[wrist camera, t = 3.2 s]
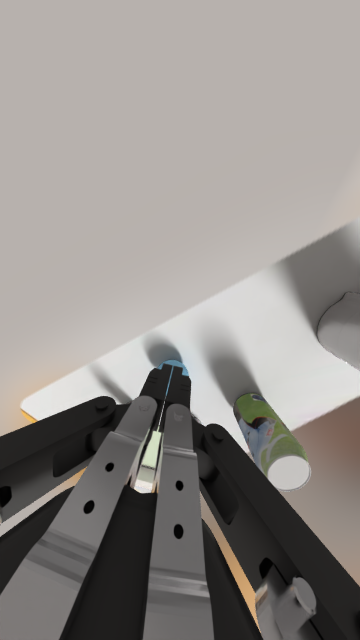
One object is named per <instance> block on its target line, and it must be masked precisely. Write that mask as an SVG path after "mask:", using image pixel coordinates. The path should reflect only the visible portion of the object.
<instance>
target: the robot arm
mask: <svg viewBox="0 0 360 640" xmlns="http://www.w3.org/2000/svg"><path fill="white" fill-rule="evenodd" d="M317 335H318V339H319V342H320V343H321V345H322V346H323V347H324V348H325V349H326V350H327V351H329V352H331V353H332V354H333V355H335V356H336V357H338V358H339V359H341V360H343V361H345V362H346V363H348V364H350V365H351V366H353V367H354V368H356V369H358V370H359V371H360V294H358V293H351V292H347V293H345V295H344V297H343V299H342V300H340V301H339V302H337V303H336V304H334V305H333V306H332V307H330V308H329V309H328V310H327V311H326V312H325V314H324V315H323V316H322V318H321V320H320V322H319V325H318V333H317ZM172 367H173V371H172ZM171 372H172V375H171ZM182 372H183V368H182V367H178V366H173V365H170V364H166V363H163V366H162V369H157V368H154V369H153V370H152V371H150V373H149V375H148V377H147V380H146V382H145V384H144V386H143V388H142V390H141V393H140V395H139V397H137V398H135V399H134V400H133V402H132V403H129V404H121V405H116V402H115V400H114V399H113V398H111V397H108V396H100V397H97V398H94V399H92V400H89V401H87V402H84V403H82V404H79V405H77V406H75V407H72V408H70V409H67V410H65V411H62V412H60V413H57V414H55V415H52V416H50V417H47V418H45V419H42V420H40V421H38V422H35V423H33V424H30V425H28V426H25V427H23V428H20V429H18V430H15V431H13V432H10V433H8V434H6V435H3V436H1V437H0V525H1V523H3V522H4V521H6V520H7V519H9V518H10V517H12V516H13V515H15V514H16V513H18V512H19V511H21V510H22V509H24V508H25V507H27V506H28V505H30V504H31V503H33V502H34V501H36V500H37V499H39V498H40V497H42V496H43V495H45V494H46V493H48V492H49V491H51V490H52V489H54V488H55V487H56V486H58V485H60V484H61V483H63V482H64V481H66V480H67V479H69V478H70V477H72V476H73V475H75V474H76V473H78V472H79V471H80V470H82V469H84V468H85V467H87V468H86V470H85V471H84V473H83V475H82V476H81V478H80V479H79V481H78V482H77V484H76V485H75V486H73V487H71V488H69V489H67V490H65V491H63V492H61V493H60V494H58V495H57V496H55V497H54V498H52V499H51V500H50V501H48V502H47V503H46V504H44V505H43V506H42V507H40V508H39V509H38V510H36V511H35V512H34V513H32V514H31V515H29V516H28V517H27V518H25V519H24V520H23V521H21V522H20V523H18V524H17V525H16V526H14V527H13V528H12V529H10V530H9V531H8V532H6V533H5V534H4V535H2V536H1V537H0V640H360V587H359V585H358V584H357V583H356V582H355V581H354V580H353V578H352V577H351V576H350V575H349V574H348V573H347V571H346V570H345V569H344V568H343V567H342V566H341V564H340V563H339V562H338V561H337V560H336V558H335V557H334V556H333V555H332V554H331V553H330V551H329V550H328V549H327V548H326V547H325V545H323V543H322V542H321V541H320V540H319V538H318V537H317V536H316V535H315V534H314V533H313V531H312V530H311V529H310V528H309V527H308V526H307V524H306V523H305V522H304V521H303V520H302V518H301V517H300V516H299V515H298V514H297V513H296V511H295V510H294V509H293V508H292V507H291V506H290V505H289V503H288V502H287V501H286V500H285V498H284V497H283V496H282V495H281V494H280V493H279V491H278V490H277V489H276V488H275V487H274V486H273V484H272V483H271V482H270V481H269V480H268V478H267V477H266V476H265V475H264V474H263V473H262V471H261V470H260V469H259V468H258V467H257V466H256V464H255V463H254V462H253V461H252V460H251V459H250V458H249V456H248V455H247V454H246V453H245V451H244V450H243V449H242V448H241V447H240V446H239V444H238V443H237V442H236V441H235V440H234V439H233V437H232V436H231V435H230V434H229V433H228V431H227V430H226V429H225V428H223V427H222V426H220V425H218V424H209V425H207V426H206V427H205V426H203V425H202V424H200V423H198V422H197V421H196V420H195V419H194V418H193V417H192V415H191V412H190V396H191V380H190V378H189V376H186V375H182ZM170 376H171V379H170ZM169 380H170V383H169ZM168 385H169V387H168ZM167 389H168V391H167ZM166 393H167V395H166ZM165 397H166V399H165ZM164 401H165V404H164ZM163 405H164V408H163ZM162 409H163V412H162ZM161 413H162V417H161ZM160 417H161V421H160ZM159 421H160V426H159V430H158V432H160V433H161V436H160V441H159V445H158V451H157V458H156V464H155V471H154V478H153V485H152V491H151V493H139V492H137V491H136V490H134V486H135V483H136V480H137V477H138V474H139V471H140V468H141V466H142V463H143V460H144V457H145V454H146V452H147V449H148V446H149V442H150V440H151V438H152V435H153V431H156V432H157V429H158V425H159ZM200 491H201V493H202V495H203V497H204V499H205V501H206V503H207V504H208V506H209V508H210V510H211V512H212V514H213V515H214V517H215V519H216V521H217V523H218V525H219V527H220V528H221V530H222V532H223V534H224V536H225V538H226V540H227V542H228V543H229V545H230V547H231V549H232V551H233V553H234V554H235V556H236V558H237V560H238V562H239V564H240V565H241V567H242V569H243V571H244V573H245V574H246V577H247V578H248V580H249V582H250V584H251V586H252V588H253V589H254V591H255V593H256V596H255V607H256V614H257V620H258V624H259V628H260V631H261V633H260V631H259V629H258V627H257V625H256V623H255V620H254V618H253V616H252V614H251V612H250V610H249V608H248V606H247V604H246V602H245V599H244V597H243V595H242V593H241V591H240V589H239V587H238V585H237V583H236V581H235V578H234V576H233V574H232V572H231V570H230V568H229V566H228V564H227V562H226V559H225V557H224V555H223V553H222V551H221V549H220V547H219V545H218V543H217V541H216V539H215V537H214V535H213V533H212V532H211V530H210V528H209V527H208V525H207V524H206V523H205V521H204V520H203V519H202V518H201V504H200ZM261 634H262V635H261Z"/></svg>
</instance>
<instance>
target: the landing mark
mask: <svg viewBox="0 0 360 640" xmlns="http://www.w3.org/2000/svg"><path fill="white" fill-rule="evenodd" d="M158 430H159V426H158V429H157V432H156V431H153V435H152V438H151V440H150V442H149V446H148V449H147V452H146V454H145V457H144V460H143V463H142V465H146V466H149V467H153V468H155V464H156V458H157V451H158V445H159V441H160V436H161V433H160V432H158Z"/></svg>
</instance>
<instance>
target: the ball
mask: <svg viewBox="0 0 360 640" xmlns="http://www.w3.org/2000/svg"><path fill="white" fill-rule="evenodd" d="M163 363H166V364H170V365H173V366H178V367H182V368H183V372H182V375H186V376H189V375H188V371H187V369H186V367H185V366H184V365H183V364H182V363H181V362H179V361H176V360H168V361H165V362H163ZM163 363H162V364H161V365H160V366H159V367H158V368H157V369H162V366H163ZM172 371H173V367H172ZM171 375H172V372H171ZM170 379H171V376H170ZM169 383H170V380H169ZM168 387H169V385H168ZM167 391H168V389H167ZM166 395H167V393H166Z"/></svg>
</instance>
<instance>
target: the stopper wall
mask: <svg viewBox="0 0 360 640" xmlns="http://www.w3.org/2000/svg"><path fill="white" fill-rule="evenodd" d="M154 471H155V470H153V469H149V468H145V467H142V466H141V468H140V471H139V474H138V477H137V480H136V483H135V485H136V486H140V487H144V488H147V489H151V490H152V485H153V478H154Z"/></svg>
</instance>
